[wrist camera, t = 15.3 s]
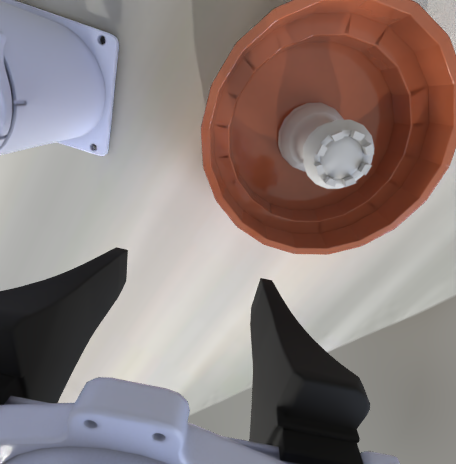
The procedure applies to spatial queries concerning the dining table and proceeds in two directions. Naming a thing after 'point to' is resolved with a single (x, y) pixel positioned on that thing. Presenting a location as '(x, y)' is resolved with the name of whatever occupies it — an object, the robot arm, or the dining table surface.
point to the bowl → (347, 105)
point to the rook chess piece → (326, 145)
